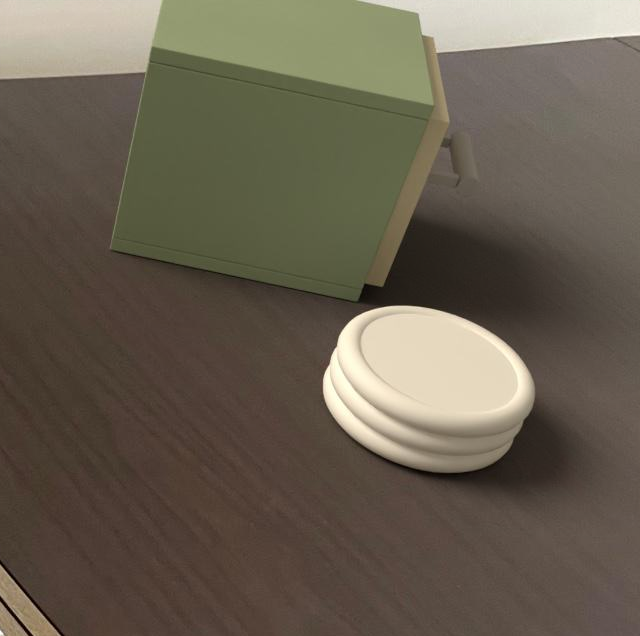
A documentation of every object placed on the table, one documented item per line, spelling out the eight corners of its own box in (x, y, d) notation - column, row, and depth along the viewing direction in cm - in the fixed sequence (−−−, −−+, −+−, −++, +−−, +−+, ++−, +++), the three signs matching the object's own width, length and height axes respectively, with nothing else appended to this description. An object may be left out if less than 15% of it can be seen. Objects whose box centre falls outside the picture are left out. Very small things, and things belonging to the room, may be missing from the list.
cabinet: (351, 197, 76) (418, 12, 67) (357, 302, 67) (435, 105, 58) (132, 151, 76) (171, -40, 67) (109, 250, 67) (151, 45, 59)
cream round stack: (450, 351, 65) (476, 297, 62) (545, 471, 59) (578, 416, 56) (289, 359, 62) (309, 303, 59) (370, 485, 56) (397, 429, 53)
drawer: (430, 204, 74) (494, 49, 67) (444, 300, 67) (519, 136, 59) (168, 149, 75) (205, -11, 67) (152, 239, 67) (192, 68, 60)
